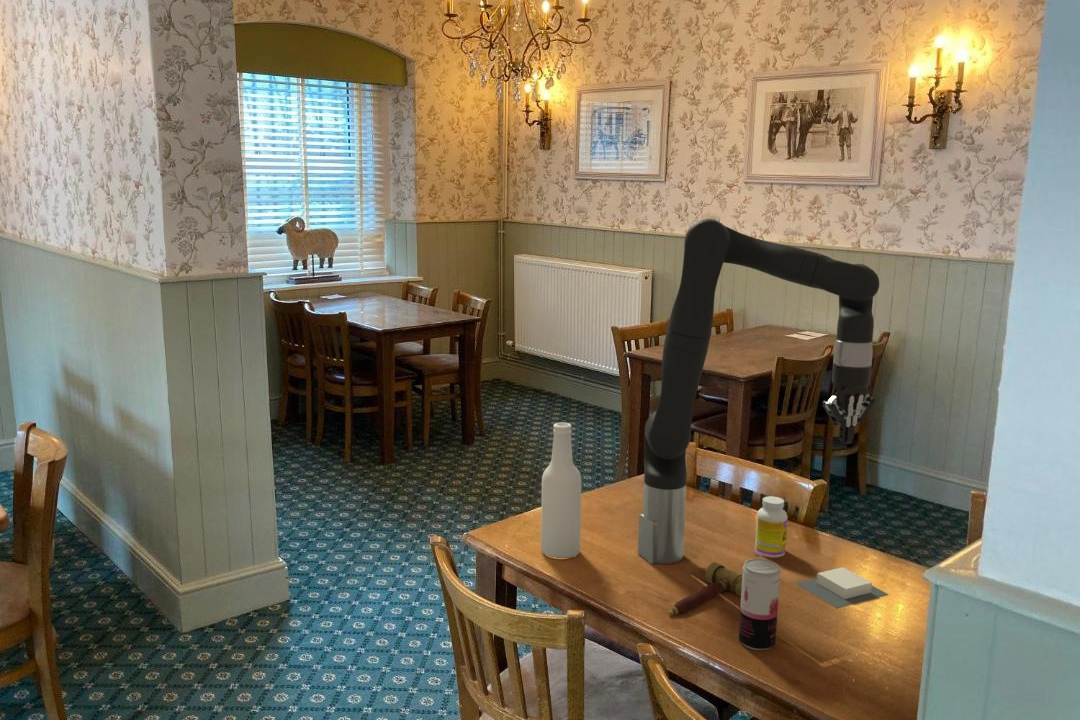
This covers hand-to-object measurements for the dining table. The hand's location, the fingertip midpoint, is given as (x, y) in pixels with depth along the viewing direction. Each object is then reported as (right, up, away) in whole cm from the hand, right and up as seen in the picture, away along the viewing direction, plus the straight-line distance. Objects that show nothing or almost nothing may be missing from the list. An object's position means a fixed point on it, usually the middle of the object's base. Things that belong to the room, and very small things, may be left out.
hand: (845, 442), depth 186 cm
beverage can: (-25, -35, -24) cm, 49 cm away
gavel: (-31, -32, -8) cm, 45 cm away
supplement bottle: (-12, -27, +14) cm, 33 cm away
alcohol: (-60, -26, +14) cm, 67 cm away
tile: (-5, -29, -5) cm, 30 cm away
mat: (-2, -30, -4) cm, 31 cm away
